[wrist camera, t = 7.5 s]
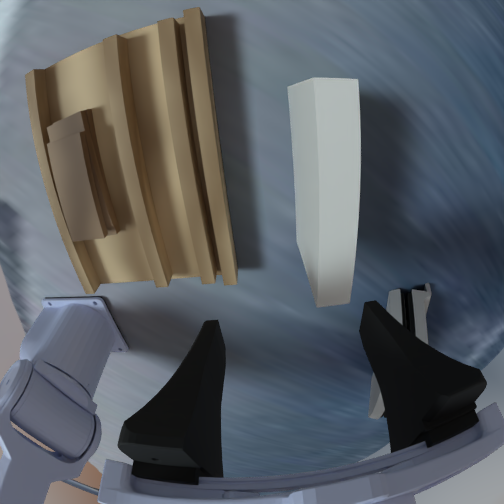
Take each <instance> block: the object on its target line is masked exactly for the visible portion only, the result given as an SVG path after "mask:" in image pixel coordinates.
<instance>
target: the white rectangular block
mask: <svg viewBox="0 0 504 504" xmlns="http://www.w3.org/2000/svg"><path fill="white" fill-rule="evenodd" d="M287 88H288V99H289V110H290V122H291V135H292V149H293V165H294V183H295V204H296V231H297V244H298V247H299V250H300V253H301V257H302V260H303V263H304V266H305V270H306V273H307V276H308V279H309V283H310V286H311V289H312V293H313V296H314V300H315V303H316V307H325V306H332V305H340V304H347V303H350V297H351V289H352V282H353V274H354V265H355V255H356V245H357V233H358V219H359V202H360V174H361V129H360V102H359V86H358V79H343V78H311V79H308V80H305V81H302V82H299V83H297V84H294V85H291V86H288V87H287Z"/></svg>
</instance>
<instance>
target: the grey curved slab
mask: <svg viewBox="0 0 504 504" xmlns="http://www.w3.org/2000/svg"><path fill="white" fill-rule="evenodd" d="M430 298H431V289H430V285H429V283H425V287H424V291H420V290H414V289H412V292H411V293H408V296H407V301H406V308H405V300H404V293H400V289H397V290H392V291H390V292H389V295H388V302H387V308H386V311H388V312H389V313H390V314H391V315H392V316H393V317H394V318H395V319H396V320H397V321H398V322H400V323H401V324H402V325H403V326H404V327H405V328H406V329H408V330H409V331H410V332H411V333H413V334H414V335H415V336H416V337H418V338H419V339H420V340H422V341H423V342H425V343H426V344H428V335H427V324H426V313H427V309H428V305H429V302H430ZM382 416H384V418H386V413H385V408H384V403H383V399H382V395H381V391H380V388H379V385H378V382H377V379H376V377H375V374H374V372H373V375H372V379H371V392H370V404H369V414H368V417H369V418H373V419H379V418H380V417H382Z"/></svg>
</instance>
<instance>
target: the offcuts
mask: <svg viewBox="0 0 504 504" xmlns="http://www.w3.org/2000/svg"><path fill="white" fill-rule="evenodd" d="M47 131H48V135H49V139H50V143H48V144H47V147H48V153H49V158H50V162H51V167H52V172H53V176H54V180H55V184H56V188H57V192H58V196H59V199H60V203H61V207H62V210H63V213H64V217H65V220H66V223H67V226H68V229H69V232H70V235H71V238H72V241H73V242H75V241H84V240H93V239H102V238H105V237H106V236H110V235H116V234H118V233H119V231H120V228H119V225H118V222H117V218H116V215H115V211H114V208H113V204H112V201H111V197H110V193H109V190H108V186H107V182H106V178H105V174H104V169H103V165H102V161H101V156H100V152H99V147H98V142H97V137H96V132H95V126H94V121H93V115H92V109H86V110H83V111H79V112H77V113H75V114H73V115H71V116H69V117H66V118H64V119H62V120H59V121H57V122H55V123H53V125H51V126H49V127H47Z"/></svg>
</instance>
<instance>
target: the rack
mask: <svg viewBox="0 0 504 504" xmlns="http://www.w3.org/2000/svg"><path fill="white" fill-rule="evenodd" d="M183 13H184V17H183V18H178V19H174V18H169V19H165V20H161V21H157V23H158V24H154V25H150V26H147V27H144V28H140V29H137V30H134V31H131V32H128V33H125V34H122V35H117V34H116V35H113V36H111V37H108V38H105V39H103V42H101V43H98V44H96V45H94V46H91V47H89V48H87V49H84V50H82V51H80V52H78V53H76V54H74V55H71V56H69V57H67V58H65V59H63V60H61V61H59V62H58V63H56V64H54V65H52V66H50V67H48V68H46V69H34V70H32V71H30V72H29V73H27V74H26V75H25V78H26V90H27V99H28V107H29V115H30V121H31V127H32V133H33V138H34V143H35V148H36V153H37V157H38V162H39V166H40V170H41V174H42V177H43V181H44V185H45V188H46V192H47V195H48V198H49V202H50V205H51V208H52V211H53V214H54V217H55V220H56V223H57V226H58V229H59V231H60V234H61V237H62V239H63V242H64V245H65V247H66V250H67V252H68V255H69V257H70V259H71V262H72V264H73V266H74V269H75V271H76V273H77V275H78V278H79V280H80V282H81V284H82V286H83V288H84V291H85V293H86V294H94V293H95V292H96V290H97V289H98V287H99V286H100V284H105V283H120V282H135V281H149V280H154V282H155V285H156V287H168V286H169V283H170V280H171V279H175V278H188V277H201V281H202V284H212V283H215V281H216V275H222V276H223V282H224V285H235V284H237V276H238V265H237V259H236V252H235V246H234V239H233V232H232V225H231V219H230V212H229V205H228V198H227V191H226V184H225V176H224V169H223V162H222V155H221V147H220V140H219V132H218V124H217V117H216V109H215V101H214V93H213V85H212V77H211V68H210V60H209V52H208V43H207V34H206V25H205V17H204V15H203V13H202V11H201V9H200V7H197V8H192V9H187V10H183ZM86 109H92V115H93V121H94V126H95V132H96V137H97V142H98V147H99V152H100V156H101V161H102V165H103V169H104V174H105V178H106V182H107V186H108V190H109V193H110V197H111V201H112V204H113V208H114V211H115V215H116V218H117V222H118V225H119V228H120V231H119V233H118V234H116V235H110V236H106V237H105V238H102V239H93V240H84V241H75V242H73V241H72V238H71V235H70V232H69V229H68V226H67V223H66V220H65V217H64V213H63V210H62V207H61V203H60V199H59V196H58V192H57V188H56V184H55V180H54V176H53V172H52V167H51V162H50V158H49V153H48V147H47V144H48V143H50V139H49V135H48V131H47V127H49V126H51V125H53V123H55V122H57V121H59V120H62V119H64V118H66V117H69V116H71V115H73V114H75V113H77V112H79V111H83V110H86Z"/></svg>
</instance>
